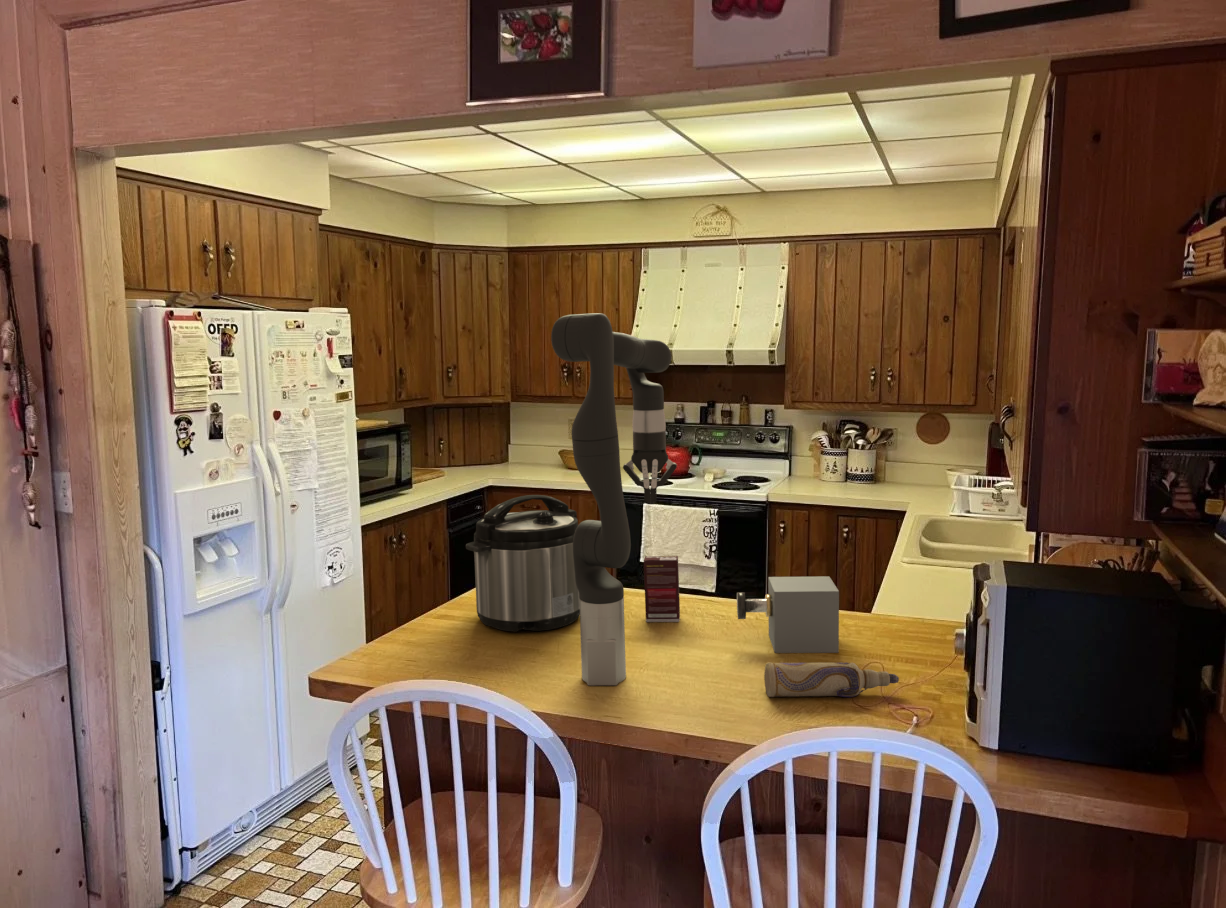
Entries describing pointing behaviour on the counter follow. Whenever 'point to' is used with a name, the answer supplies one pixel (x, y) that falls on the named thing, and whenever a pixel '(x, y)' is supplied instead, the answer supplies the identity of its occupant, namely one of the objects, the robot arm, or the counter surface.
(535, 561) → the pressure cooker
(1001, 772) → the counter surface
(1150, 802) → the counter surface
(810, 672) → the decorative bottle
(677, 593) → the supplement box
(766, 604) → the shaft
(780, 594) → the bearing block
